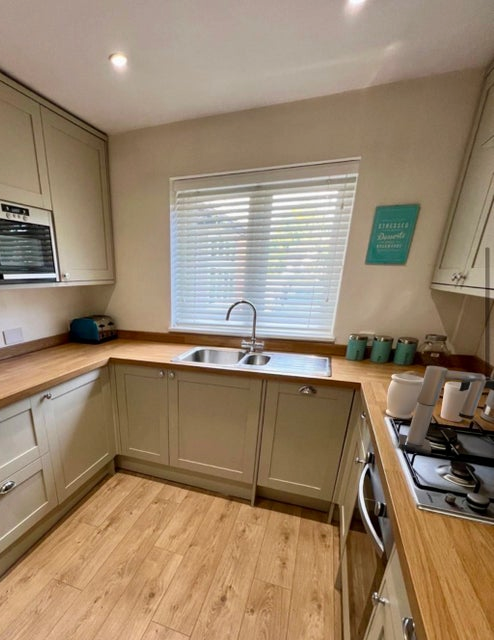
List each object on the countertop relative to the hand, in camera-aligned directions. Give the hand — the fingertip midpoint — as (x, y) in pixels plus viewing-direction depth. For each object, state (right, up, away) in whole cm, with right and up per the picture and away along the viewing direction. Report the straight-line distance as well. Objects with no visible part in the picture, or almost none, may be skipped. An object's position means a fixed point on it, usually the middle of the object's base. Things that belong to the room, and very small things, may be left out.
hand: (489, 393), depth 95 cm
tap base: (-17, -16, +7) cm, 25 cm away
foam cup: (+12, -9, +29) cm, 32 cm away
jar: (-6, -8, +30) cm, 32 cm away
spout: (-13, -6, +1) cm, 14 cm away
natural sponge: (+16, +2, +57) cm, 60 cm away
